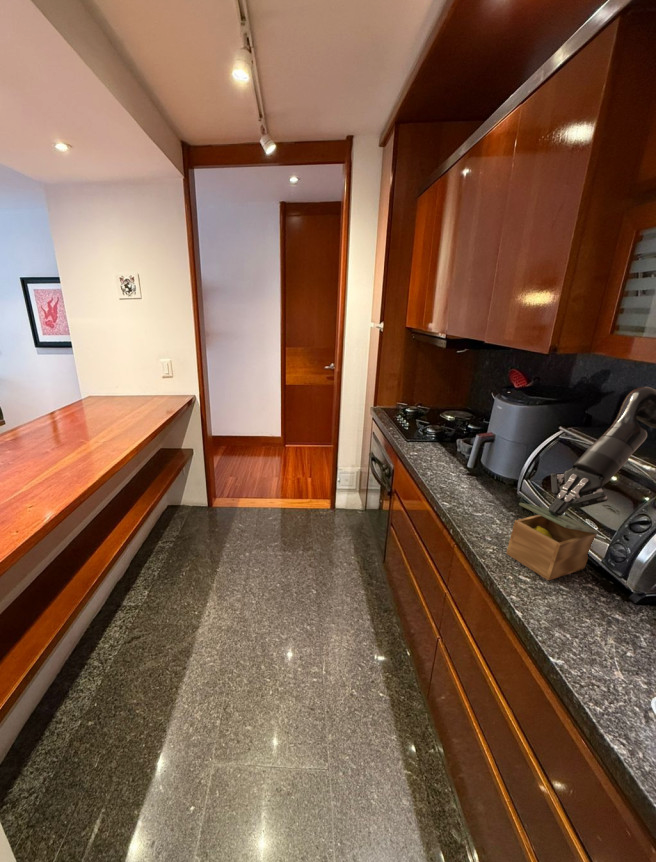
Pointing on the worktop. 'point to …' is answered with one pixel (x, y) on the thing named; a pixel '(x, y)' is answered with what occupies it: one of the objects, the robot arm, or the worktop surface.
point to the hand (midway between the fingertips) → (552, 513)
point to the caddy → (549, 547)
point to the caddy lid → (558, 518)
